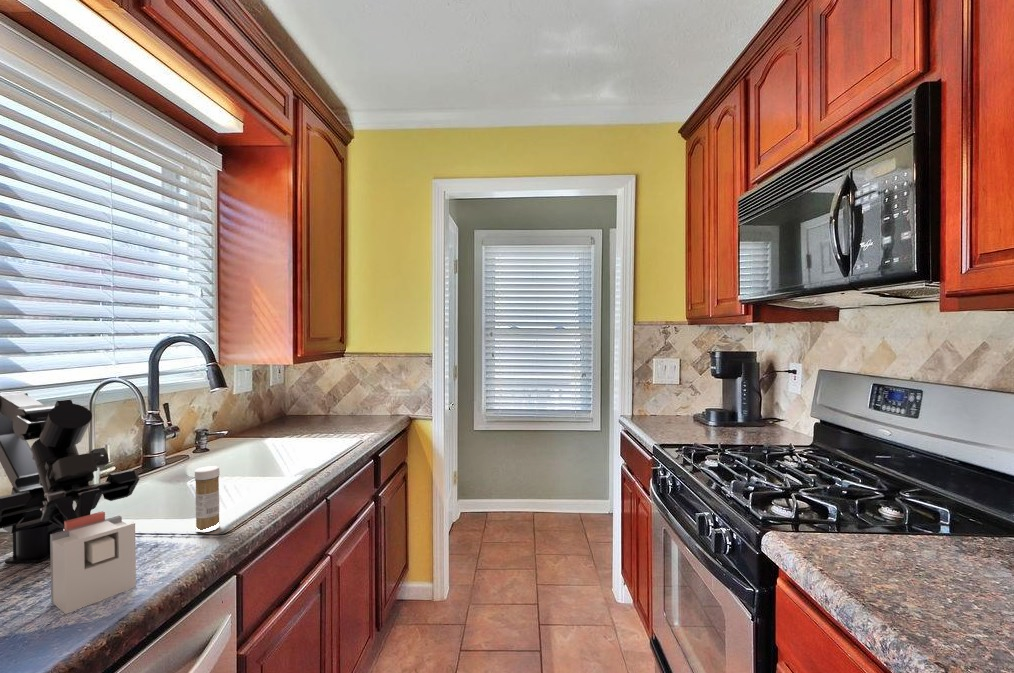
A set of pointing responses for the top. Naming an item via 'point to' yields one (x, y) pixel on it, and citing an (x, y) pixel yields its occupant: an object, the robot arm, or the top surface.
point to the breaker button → (95, 547)
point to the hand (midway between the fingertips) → (83, 538)
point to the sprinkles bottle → (207, 496)
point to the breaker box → (84, 580)
